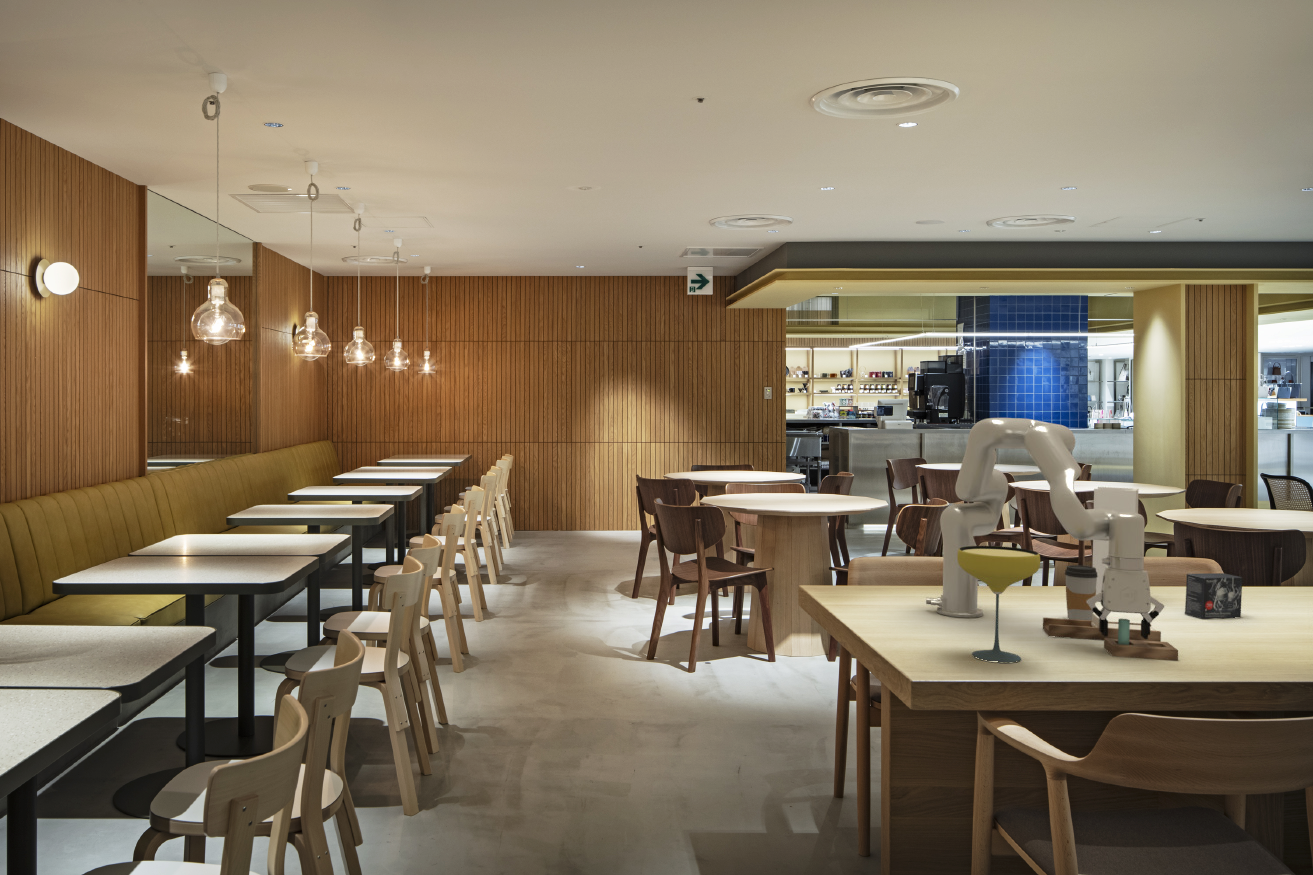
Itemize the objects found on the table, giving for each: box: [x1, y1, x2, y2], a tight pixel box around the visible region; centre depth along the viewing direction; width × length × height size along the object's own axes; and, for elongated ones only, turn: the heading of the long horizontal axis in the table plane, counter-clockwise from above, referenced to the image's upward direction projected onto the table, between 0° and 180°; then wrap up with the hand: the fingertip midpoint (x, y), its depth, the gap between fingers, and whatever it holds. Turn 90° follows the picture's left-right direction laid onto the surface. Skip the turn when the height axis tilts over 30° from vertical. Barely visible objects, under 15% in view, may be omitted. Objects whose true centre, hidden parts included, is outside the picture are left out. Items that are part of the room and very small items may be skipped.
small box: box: [1184, 572, 1243, 620], centre depth 256 cm, size 13×7×12 cm, turn 102°
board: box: [1042, 617, 1162, 642], centre depth 230 cm, size 26×9×3 cm, turn 76°
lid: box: [1091, 613, 1157, 631], centre depth 229 cm, size 14×6×3 cm, turn 76°
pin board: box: [1103, 638, 1179, 661], centre depth 212 cm, size 14×8×2 cm, turn 76°
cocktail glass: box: [957, 545, 1041, 663], centre depth 208 cm, size 18×18×25 cm
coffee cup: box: [1064, 564, 1098, 621], centre depth 248 cm, size 8×8×15 cm
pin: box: [1117, 618, 1131, 645], centre depth 213 cm, size 2×2×8 cm
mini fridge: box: [1092, 486, 1139, 603], centre depth 277 cm, size 11×11×35 cm
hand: (1124, 636), depth 213 cm, fingers open, 8 cm apart
